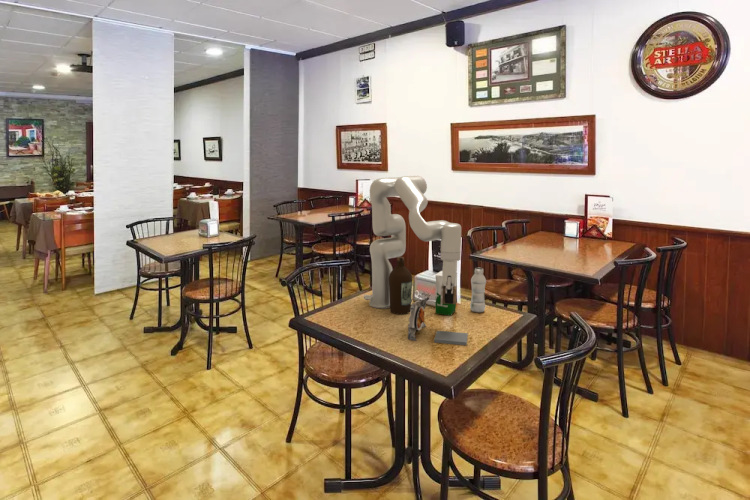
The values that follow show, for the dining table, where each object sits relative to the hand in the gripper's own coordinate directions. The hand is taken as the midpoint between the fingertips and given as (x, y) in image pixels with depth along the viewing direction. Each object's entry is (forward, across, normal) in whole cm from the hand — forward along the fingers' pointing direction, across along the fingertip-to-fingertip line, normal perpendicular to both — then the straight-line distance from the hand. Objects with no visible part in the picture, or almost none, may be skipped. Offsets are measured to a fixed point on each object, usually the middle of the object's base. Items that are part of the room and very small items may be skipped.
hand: (449, 300), depth 174 cm
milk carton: (+14, -24, -3) cm, 28 cm away
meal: (+14, +2, -12) cm, 18 cm away
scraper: (+1, 0, 0) cm, 1 cm away
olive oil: (+14, -22, -23) cm, 35 cm away
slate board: (+13, +6, +1) cm, 15 cm away
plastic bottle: (+14, -28, +11) cm, 33 cm away
